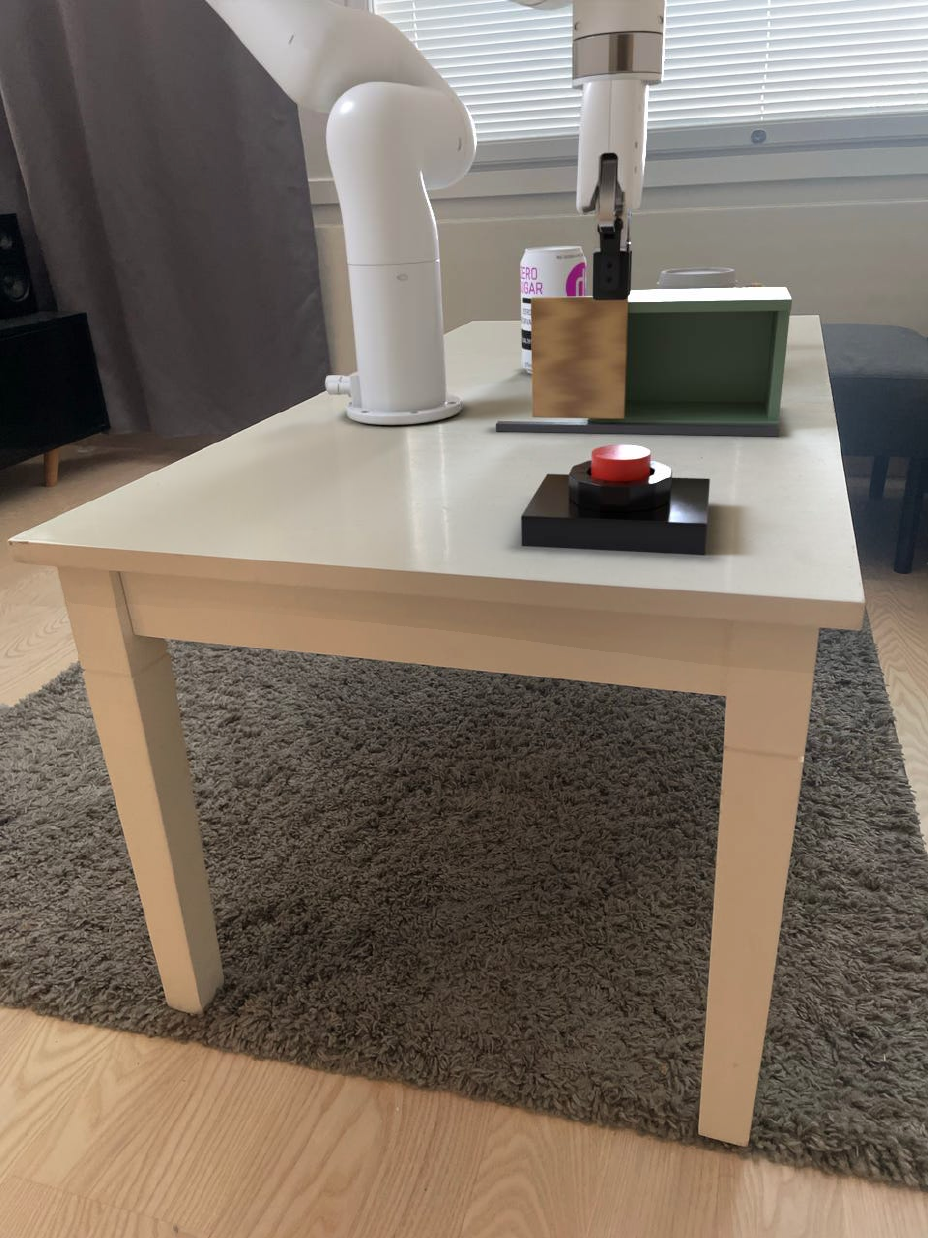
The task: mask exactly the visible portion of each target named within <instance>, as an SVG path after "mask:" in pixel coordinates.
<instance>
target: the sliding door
mask: <svg viewBox="0 0 928 1238" xmlns="http://www.w3.org/2000/svg"><path fill="white" fill-rule="evenodd" d="M631 243H632V242H631ZM631 243H630V242H627V252H630V250H631ZM629 277H630V268H629ZM628 302H629V296H628V298H627V299H625V300H594V299H593V295H588V296H587V295H586V296H573V297H533V298H531V350H532V374H531V417H532V418H538V419H539V418H540V419H541V418H544V419H545V418H547V419H589V418H607V419H624V417H625V398H626V366H627V334H628Z"/></svg>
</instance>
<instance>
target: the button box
mask: <svg viewBox="0 0 928 1238" xmlns="http://www.w3.org/2000/svg"><path fill="white" fill-rule="evenodd" d="M710 485H711V478H701V477H673V469H672V468H671V467H669V466H668V465H666V464H664V463H662V462H660V461H654V460H651V463H650V477H647V478H645V479H639V480H631V481H607V480H603V479H598V478H593V477H591V459H590V460H586V461H584V462H583V461H582V462H581V463H578V464H575V465H573V466H572V467H571V469H570V471H569V473H568V474H567V473H566V474H565V473H546V475H545V477H544V478H543V480H542V481H541V483H540V485H539V487H538V488H537V490H536V491H535V493H534V495H532V498H531V499H530V501H529V502H528V504H527V506H526V507H525V509H524V510H523V513H522V514H521V516H520V523H521V524H520V527H521V529H520V530H521V534H520V535H521V547H529V548H534V547H535V548H548V549H549V548H550V549H551V548H552V549H567V550H568V549H570V550H590V551H591V550H592V551H608V552H609V551H612V552H613V551H614V552H627V553H628V552H632V553H648V554H649V553H651V554H670V555H689V556H706V545H707V535H708V533H707V532H708V517H709V504H710V503H709V502H710V501H709V500H710Z"/></svg>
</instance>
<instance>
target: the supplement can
mask: <svg viewBox="0 0 928 1238" xmlns="http://www.w3.org/2000/svg"><path fill="white" fill-rule="evenodd" d="M519 263H520V264H519V265H520V267H519V268H520V271H519V272H520V319H521V320H520V324H521V328H520V329H521V331H520V332H521V366H522V368H524V369H525V370H526V372H527V373H528V374H530V375H532V350H531V298H533V297H573V296H587V258H586V257H585V254H584V252H583V250H582V246H578V245H577V246H576V245H556V246H539V247H529V248H525V249H524V254H523V256H522V258H521V260H520V262H519Z"/></svg>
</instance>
